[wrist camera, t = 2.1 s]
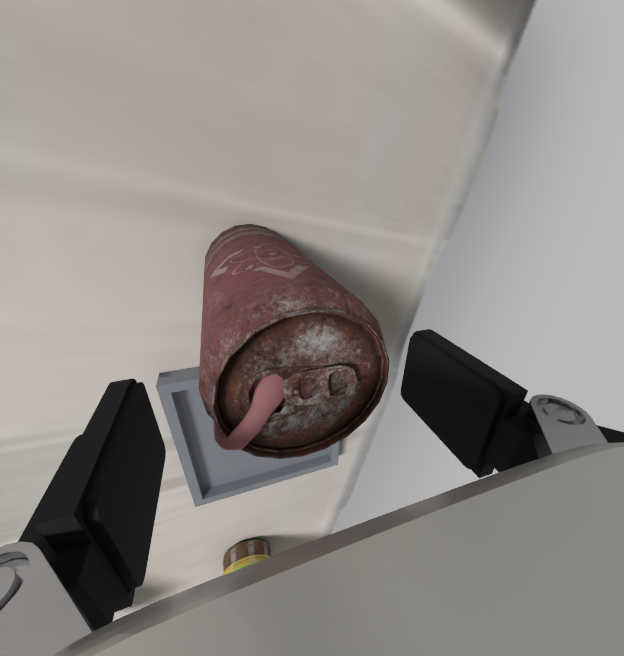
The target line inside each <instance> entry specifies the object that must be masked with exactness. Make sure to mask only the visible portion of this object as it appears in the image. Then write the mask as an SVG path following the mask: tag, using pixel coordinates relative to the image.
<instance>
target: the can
mask: <svg viewBox="0 0 624 656" xmlns="http://www.w3.org/2000/svg"><path fill="white" fill-rule="evenodd" d="M388 371H389V358H388V355H387V351H386V348H385V345H384V340H383V337H382V334H381V330H380V327H379V323H378V321H377V320H376V318H375V317H374V316H373V315H372V313H371V312H370V311H369V310H368V309H367V307H366V306H365V305H364V304H363V302H361V301H360V300H359V299H358V298H356V297H355V296H354V295H353V294H351V293H350V292H349V291H348V290H346V289H345V288H344V287H343V286H341V285H340V284H339V283H338V282H336V281H335V280H334V279H333V278H331V277H330V276H329V275H328V274H326V273H325V272H324V271H323V270H321V269H320V268H319V267H318V266H316V265H315V264H314V263H313V262H311V261H310V260H309V259H308V258H306V257H305V256H304V255H303V254H301V253H300V252H299V251H298V250H297V249H295V248H294V247H293V246H292V245H290V244H289V243H288V242H287V241H285V240H284V239H283V238H282V237H280V236H279V235H278V234H276V233H274V232H273V231H271V230H269V229H268V228H266V227H262V226H258V225H253V224H247V225H238V226H234V227H232V228H230V229H228V230H226V231H224V232H222V233H221V234H220V235H219V236H218V237H217V238H216V239H215V240H214V241H213V242H212V243H211V245H210V248H209V250H208V252H207V254H206V257H205V270H204V290H203V310H202V330H201V350H200V371H199V392H200V395H201V398H202V401H203V404H204V407H205V409H206V412H207V414H208V415H209V416H210V417H211V418H212V419H213V420H214V438H215V441H216V442H217V443H218V445H219V446H220V447H221V448H222V449H225V450H242V451H245V452H247V453H249V454H251V455H253V456H256V457H264V458H272V459H286V458H295V457H303V456H306V455H309V454H312V453H315V452H318V451H321V450H324V449H326V448H328V447H330V446H332V445H333V444H335V443H337V442H339V441H340V440H342V439H344V438H346V437H347V436H349V435H350V434H351V433H352V432H353V431H354V430H355V429H357V428H358V427H359V426H360V425H361V424H362V423H363V422H365V421H366V419H367V418H368V417H369V415H370V414H371V413H372V411H373V410H374V409H375V407H376V406H377V405H378V403H379V402H380V399H381V397H382V394H383V392H384V389H385V387H386V385H387V382H388Z"/></svg>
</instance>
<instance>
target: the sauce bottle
mask: <svg viewBox="0 0 624 656" xmlns="http://www.w3.org/2000/svg"><path fill="white" fill-rule="evenodd" d="M270 557H271V552H270V546H269V544H268V543H267V542H264V541H261V540H249V541H244V542H241V543H239V544H237V545H235V546H234V547H232V548H231V549H230V550H228V551H227V552H226V553H225V556H224V560H223V571H224V572H223V575H225V574H228V573H230V572H233V571H236V570H238V569H241V568H243V567H246V566H248V565H251V564H254V563H256V562H259V561H262V560H264V559H267V558H270ZM223 575H222V576H223Z"/></svg>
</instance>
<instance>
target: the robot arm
mask: <svg viewBox="0 0 624 656" xmlns="http://www.w3.org/2000/svg"><path fill="white" fill-rule="evenodd" d="M527 392H528V391H527V390H526V389H524V388H523V387H521V386H519V385H518V384H516V383H515V382H513V381H512V380H510V379H509V378H507V377H505V376H504V375H502V374H500V373H499V372H498V371H496V370H494V369H493V368H491V367H489V366H488V365H486V364H485V363H483V362H482V361H480V360H479V359H477V358H475V357H474V356H472V355H471V354H469V353H467V352H466V351H464V350H463V349H461V348H460V347H458V346H456V345H455V344H453V343H452V342H450V341H449V340H447V339H445V338H443V337H442V336H440V335H439V334H437V333H436V332H434V331H433V330H430V329H429V330H422V331H416V332H415V333H414V334H413V336H412V337H411V338H410V342H409V347H408V353H407V358H406V364H405V370H404V376H403V381H402V387H401V395H402V397H403V399H404V401H405V402H406V403H407V404H408V405H409V406H410V407H411V408H412V409H413V410H414V411H415V413H417V415H418V416H419V417H420V418H421V419H422V420H423V421H424V422H425V423H426V424H427V426H428V427H429V428H430V429H431V430H432V431H433V432H434V433H435V434H436V435H437V436H438V437H439V439H440V440H441V441H442V442H443V443H444V444H445V445H446V446H447V447H448V448H449V450H450V451H451V452H452V453H453V454H454V455H455V456H456V457H457V458H458V459H459V460H460V461H461V462H462V464H463V465H464V466H465V467H467V468H468V469H471V470H472V471H473V472H474V473H475V474H476V475H477V476H478V477H479V478H481V477H484V476H486V475H489V474H492V472H493V470H494V468H495V469H496V470H497V471H498V472H499V473H497V474H494V475H491V476H489V477H486V478H483V479H480V480H478V481H475V482H472V483H469V484H466V485H464V486H461V487H458V488H455V489H452V490H450V491H447V492H445V493H442V494H439V495H436V496H434V497H431V498H428V499H425V500H423V501H420V502H417V503H415V504H412V505H409V506H406V507H404V508H401V509H398V510H396V511H393V512H390V513H387V514H385V515H382V516H379V517H377V518H374V519H371V520H368V521H366V522H363V523H361V524H358V525H355V526H353V527H350V528H347V529H345V530H342V531H339V532H337V533H334V534H331V535H328V536H326V537H323V538H320V539H318V540H315V541H312V542H310V543H307V544H304V545H302V546H299V547H296V548H294V549H291V550H288V551H286V552H283V553H280V554H278V555H275V556H272V557H270V558H267V559H264V560H262V561H259V562H256V563H254V564H251V565H248V566H246V567H243V568H241V569H238V570H236V571H233V572H230V573H228V574H225V575H223V576H220V577H218V578H215V579H213V580H210V581H208V582H205V583H203V584H200V585H198V586H195V587H193V588H190V589H188V590H185V591H182V592H180V593H177V594H175V595H172V596H170V597H167V598H165V599H162V600H160V601H158V602H155V603H153V604H151V605H149V606H146V607H144V608H142V609H140V610H137V611H135V612H133V613H131V614H128V615H126V616H124V617H122V618H119V619H117V620H115V621H113V616H114V612H116V611H119V610H122V609H124V608H127V607H130V606H132V602H133V597H134V592H135V588H136V587H139V586H141V585H142V584H143V581H144V578H145V573H146V567H147V561H148V555H149V549H150V544H151V538H152V532H153V526H154V520H155V515H156V509H157V503H158V497H159V491H160V486H161V480H162V474H163V468H164V462H165V445H164V442H163V439H162V436H161V433H160V430H159V427H158V424H157V421H156V418H155V415H154V412H153V409H152V406H151V403H150V400H149V398H148V395H147V392H146V389H145V386H144V384H143V383H142V382H139V383H137V382H136V380H135V379H128V380H122V381H116V382H111V383H110V384H109V385H108V387H107V389H106V391H105V393H104V395H103V397H102V399H101V400H100V402H99V404H98V406H97V408H96V410H95V412H94V414H93V416H92V418H91V419H90V421H89V423H88V425H87V427H86V429H85V431H84V433H83V435H80V436H78V437H76V439H75V440H74V441H73V443H72V445H71V446H70V448H69V450H68V452H67V454H66V456H65V457H64V459H63V461H62V463H61V465H60V466H59V468H58V470H57V472H56V474H55V476H54V477H53V479H52V481H51V483H50V485H49V486H48V488H47V490H46V492H45V494H44V496H43V497H42V499H41V501H40V503H39V505H38V506H37V508H36V510H35V512H34V514H33V516H32V517H31V519H30V521H29V523H28V525H27V526H26V528H25V530H24V532H23V534H22V536H21V537H20V539H19V541H18V542H17V543H12V544H7V545H4V546H2V547H0V656H624V432H620V431H616V430H613V429H609V428H605V427H601V426H597V425H596V424H595V423H594V421H593V419H592V418H591V417H590V416H589V415H588V414H587V412H586V411H584V410H583V409H581V408H580V407H579V406H577V405H575V404H573V403H571V402H569V401H567V400H564V399H562V398H559V397H555V396H551V395H536V396H533V397H532V398H531V400H530V402H529V403H527V402H526V401H524V399H525V396H526V394H527ZM112 621H113V622H112Z"/></svg>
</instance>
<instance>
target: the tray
mask: <svg viewBox="0 0 624 656" xmlns="http://www.w3.org/2000/svg"><path fill="white" fill-rule="evenodd" d="M199 371H200V367H195V368H189V369H183V370H177V371H171V372H165V373H159V377H158V381H157V385H156V388H157V391H158V394H159V397H160V400H161V403H162V406H163V409H164V412H165V415H166V418H167V421H168V424H169V427H170V430H171V433H172V437H173V440H174V443H175V446H176V449H177V452H178V455H179V458H180V461H181V464H182V467H183V470H184V473H185V476H186V479H187V483H188V486H189V489H190V492H191V495H192V498H193V501H194V504H195V507H197V506H200V505H204V504H207V503H210V502H214V501H217V500H221V499H224V498H227V497H231V496H234V495H237V494H241V493H244V492H247V491H251V490H254V489H257V488H261V487H264V486H267V485H271V484H274V483H277V482H281V481H284V480H287V479H291V478H294V477H297V476H301V475H304V474H307V473H311V472H314V471H318V470H321V469H324V468H328V467H331V466H334V465H338V456H339V443H340V441H339V442H337V443H335V444H333V445H332V446H330V447H328V448H326V449H324V450H321V451H318V452H315V453H312V454H309V455H306V456H303V457H295V458H286V459H272V458H264V457H256V456H253V455H251V454H249V453H247V452H245V451H242V450H225V449H222V448H221V447H220V446H219V445H218V443H217V442H216V441H215V438H214V420H213V419H212V418H211V417H210V416H209V415H208V414H207V412H206V409H205V407H204V404H203V401H202V398H201V395H200V392H199Z"/></svg>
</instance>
